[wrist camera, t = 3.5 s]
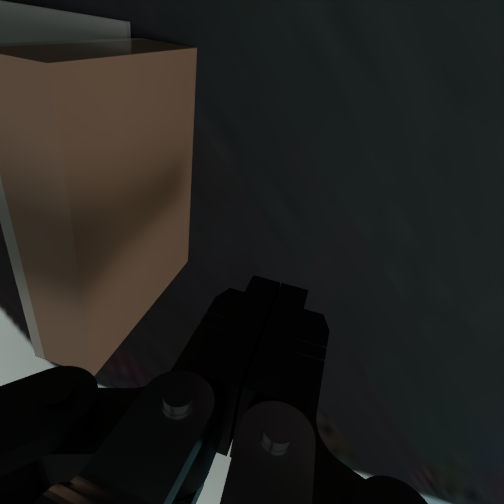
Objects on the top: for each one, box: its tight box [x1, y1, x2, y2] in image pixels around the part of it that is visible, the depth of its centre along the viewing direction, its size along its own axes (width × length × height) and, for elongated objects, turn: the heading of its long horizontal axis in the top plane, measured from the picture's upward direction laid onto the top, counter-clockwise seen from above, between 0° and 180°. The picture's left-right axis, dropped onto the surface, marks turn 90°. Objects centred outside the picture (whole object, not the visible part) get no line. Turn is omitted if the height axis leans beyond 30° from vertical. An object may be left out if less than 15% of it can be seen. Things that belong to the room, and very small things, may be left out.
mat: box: [0, 0, 131, 43], centre depth 18 cm, size 11×9×1 cm
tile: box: [0, 38, 197, 376], centre depth 14 cm, size 10×2×8 cm, turn 173°
